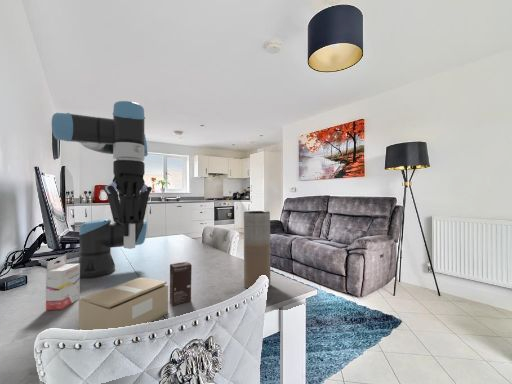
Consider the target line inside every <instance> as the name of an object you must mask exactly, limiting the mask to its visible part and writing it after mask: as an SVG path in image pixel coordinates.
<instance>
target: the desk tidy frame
mask: <svg viewBox="0 0 512 384" xmlns="http://www.w3.org/2000/svg"><path fill="white" fill-rule="evenodd" d="M65 255H66V260H68V259H72V258H77V257H79V256H80V252H79V251H75V252H70V253H64V254H60V255H55V256H49V257H43V258H39V259H38V262H39V263H41V265H40V266H42V267H43V266H44V267H47V264H48V261H46V260H47V259H50V258H56V257H57V258H58V257H62V256H65ZM78 260H79V259H76V260H70V261H66V264H77V263H78ZM57 263H58V262H55V263H54V264H57Z"/></svg>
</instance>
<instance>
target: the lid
mask: <svg viewBox="0 0 512 384" xmlns="http://www.w3.org/2000/svg"><path fill="white" fill-rule="evenodd" d="M167 284H168V283H167V281H165V280H160V279H153V278H148V277H137V278H134V279H132V280H128V281H126V282H123V283H120V284H117V285H115V286H110V287H108V288H105V289H102V290H100V291H97V292H94V293H91V294H88V295H85V296H82V297H80V299H81V300H83V301H86V302H90V303H93V304H97V305H100V306H104V307H108V308H110V307H112V306H114V305H117V304H119V303H122V302H124V301H126V300H129V299H131V298H134V297H136V296H138V295H141V294H143V293H146V292H148V291H150V290H153V289H155V288H158V287H160V286H162V285H167Z"/></svg>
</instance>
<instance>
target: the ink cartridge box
mask: <svg viewBox="0 0 512 384" xmlns="http://www.w3.org/2000/svg"><path fill="white" fill-rule="evenodd" d="M66 262H67V259H66V255H65V256H62V257H58V258H56V259H53V260H50V261H48V264H47V266H46V272H45V273H46V274H45V276H46V278H45V279H46V280H45V281H46V282H45V310H46V311H54V310H55V311H56V310H57V311H58V310H61V311H62V310H63V309H65V308H66V307H69V306H70V305H72V303H74V302H76V301H79V299H80V295H81V294H80V288H81V287H80V286H81V282H80V280H81V278H80V264H66ZM54 263H57V264H54Z"/></svg>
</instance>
